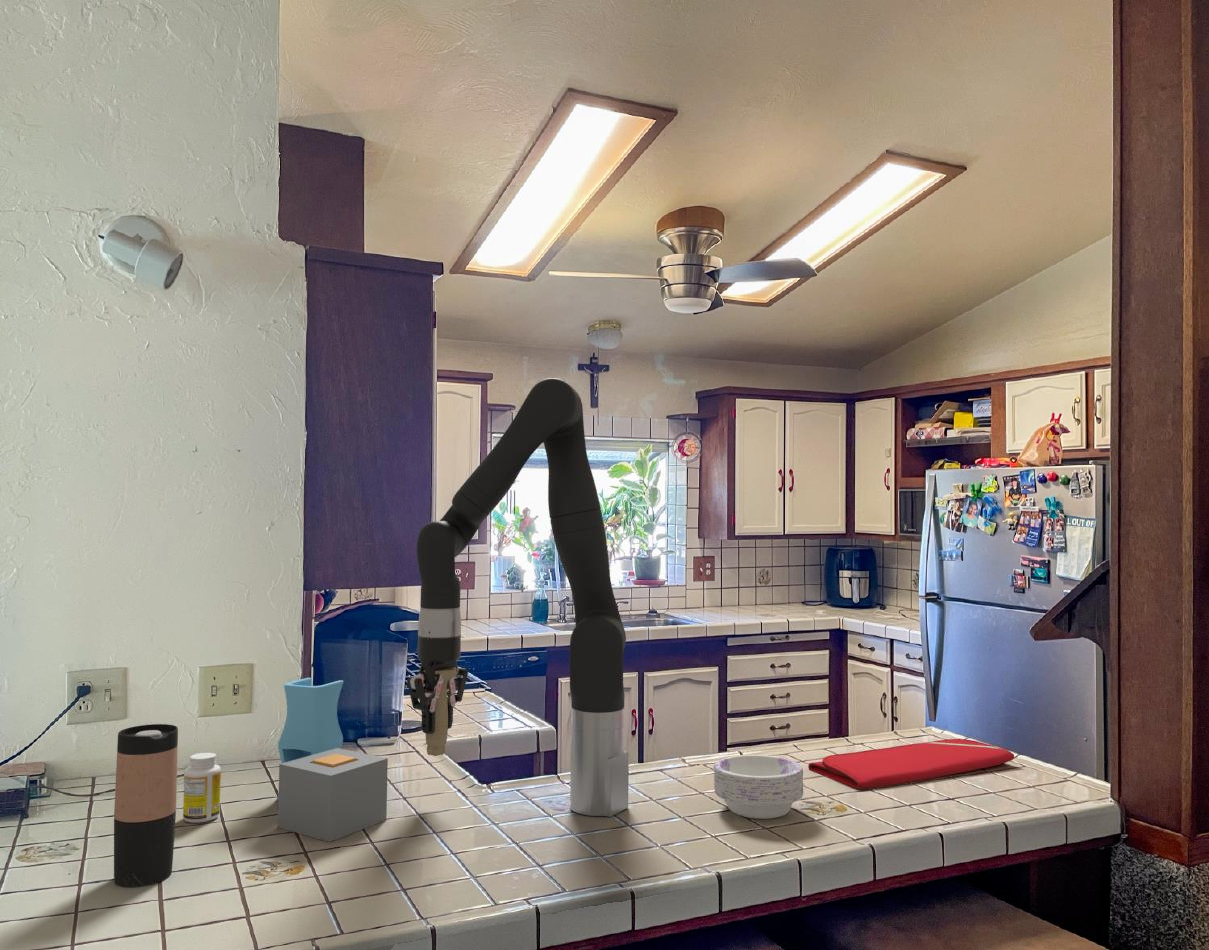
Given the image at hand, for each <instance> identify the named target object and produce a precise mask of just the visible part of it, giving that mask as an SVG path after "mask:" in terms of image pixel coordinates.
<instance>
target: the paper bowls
mask: <svg viewBox="0 0 1209 950" xmlns="http://www.w3.org/2000/svg"><path fill="white" fill-rule="evenodd" d="M803 779H804V770H803V766H802V765H801V764H800V763H798V762H797V761H795V760H792V759H789V758H786V757H781V756H775V755H766V754H765V755H764V754H740V755H733V756H728V757H724V758H721V759H719V760H717V761H716V762H715V763H714V765H713V785H714V786H713V788H714V794H715V795H716V796H718V797H719V798H720V799H722V800H724V801H725V804H726V807H727V808H728V809H729V811H731V812H732V813H734V814H736V815H738V816H739V817H740V816H741V817H744V818H749V819H758V820H768V819H769V820H770V819H771V820H772V819H777V818H780V817H783V816H785V815H787V813H788V812H789V811H790V810H791V808H792V805H793V803H795V802H797V801H800V800H801V799H802V798H803V796H804V780H803Z"/></svg>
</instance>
